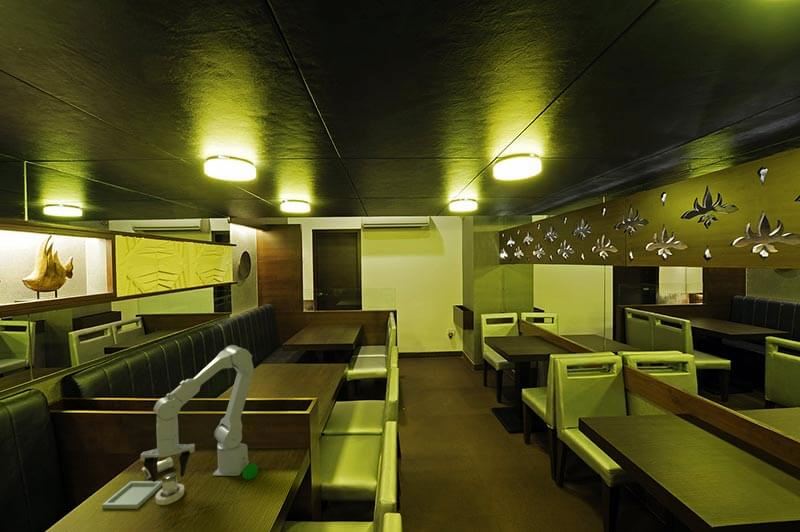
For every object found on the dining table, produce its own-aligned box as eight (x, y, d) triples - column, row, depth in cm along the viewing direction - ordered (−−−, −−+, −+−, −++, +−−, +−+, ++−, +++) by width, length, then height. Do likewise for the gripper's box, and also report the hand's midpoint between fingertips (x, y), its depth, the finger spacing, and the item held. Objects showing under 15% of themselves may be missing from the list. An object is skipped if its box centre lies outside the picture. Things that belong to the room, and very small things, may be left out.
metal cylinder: (180, 492, 113) (179, 472, 113) (172, 500, 109) (171, 480, 109) (168, 492, 113) (167, 472, 113) (159, 500, 109) (158, 480, 109)
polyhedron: (243, 475, 121) (242, 462, 121) (258, 472, 123) (257, 459, 123) (242, 484, 117) (241, 470, 116) (257, 480, 118) (257, 467, 118)
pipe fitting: (139, 476, 123) (149, 480, 120) (138, 465, 123) (148, 469, 120) (164, 464, 130) (173, 468, 127) (163, 454, 130) (172, 457, 127)
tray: (162, 485, 117) (162, 481, 117) (137, 508, 106) (137, 504, 106) (131, 485, 117) (130, 481, 117) (102, 509, 106) (102, 504, 106)
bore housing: (189, 488, 115) (189, 483, 115) (173, 504, 107) (173, 499, 107) (167, 488, 115) (166, 483, 115) (150, 504, 108) (149, 499, 108)
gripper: (196, 426, 117) (197, 465, 117) (146, 433, 112) (147, 474, 113) (190, 436, 110) (192, 478, 110) (137, 444, 106) (138, 488, 106)
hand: (169, 477), depth 111 cm, fingers open, 7 cm apart
